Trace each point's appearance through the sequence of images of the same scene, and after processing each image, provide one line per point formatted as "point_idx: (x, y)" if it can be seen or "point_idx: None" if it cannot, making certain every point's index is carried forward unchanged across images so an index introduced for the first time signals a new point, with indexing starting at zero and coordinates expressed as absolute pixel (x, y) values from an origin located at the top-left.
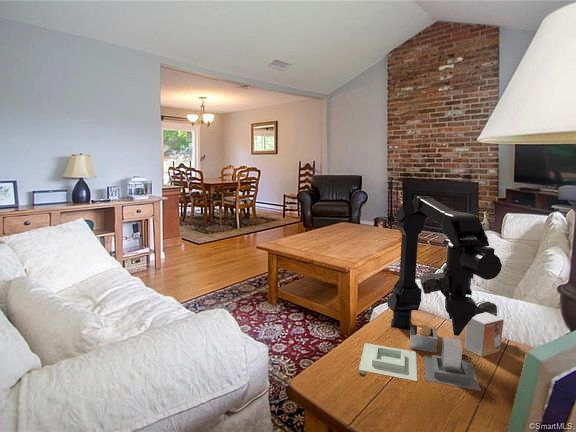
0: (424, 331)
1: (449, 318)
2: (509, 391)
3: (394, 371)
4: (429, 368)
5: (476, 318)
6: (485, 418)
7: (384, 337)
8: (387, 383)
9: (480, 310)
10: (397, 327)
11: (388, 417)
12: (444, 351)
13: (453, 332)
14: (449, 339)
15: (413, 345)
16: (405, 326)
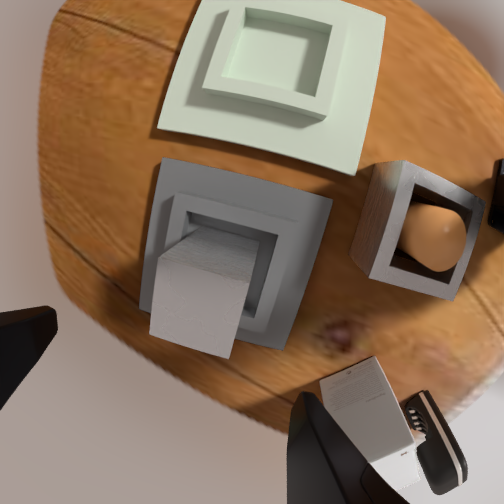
0: (418, 232)
1: (302, 392)
2: (175, 375)
3: (205, 63)
4: (236, 190)
5: (387, 463)
6: (70, 270)
7: (453, 108)
8: (166, 49)
9: (442, 466)
10: (500, 175)
11: (60, 63)
12: (172, 248)
13: (36, 308)
14: (220, 307)
15: (382, 174)
16: (500, 202)
